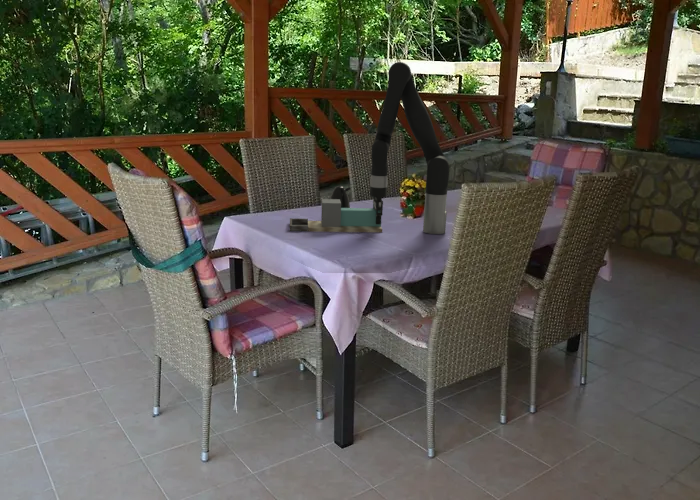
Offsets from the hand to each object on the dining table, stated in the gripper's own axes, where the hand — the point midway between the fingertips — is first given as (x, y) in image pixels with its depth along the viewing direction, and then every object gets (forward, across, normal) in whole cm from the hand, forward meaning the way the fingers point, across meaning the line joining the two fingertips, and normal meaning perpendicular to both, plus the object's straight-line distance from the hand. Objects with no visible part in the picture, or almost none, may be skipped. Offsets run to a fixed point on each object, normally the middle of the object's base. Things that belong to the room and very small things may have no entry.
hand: (377, 222), depth 279 cm
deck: (+3, 0, +18) cm, 19 cm away
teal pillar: (+1, 0, +7) cm, 8 cm away
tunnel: (+1, 0, +21) cm, 21 cm away
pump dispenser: (+3, +20, +16) cm, 25 cm away
